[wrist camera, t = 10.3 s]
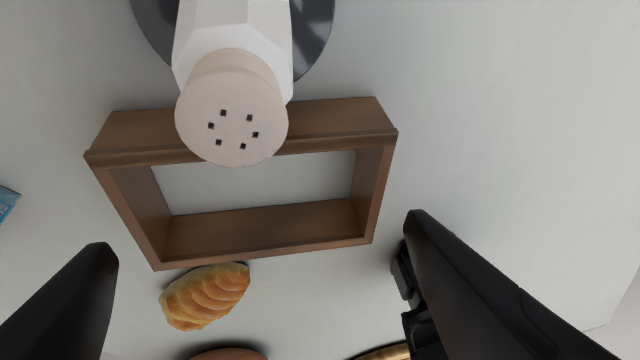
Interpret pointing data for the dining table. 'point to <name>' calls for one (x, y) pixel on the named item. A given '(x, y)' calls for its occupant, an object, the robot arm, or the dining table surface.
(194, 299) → the pastry
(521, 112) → the dining table surface
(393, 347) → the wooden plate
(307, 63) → the slate coaster
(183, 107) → the pepper shaker
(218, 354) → the ceramic jug
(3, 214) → the milk carton
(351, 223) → the wooden box
